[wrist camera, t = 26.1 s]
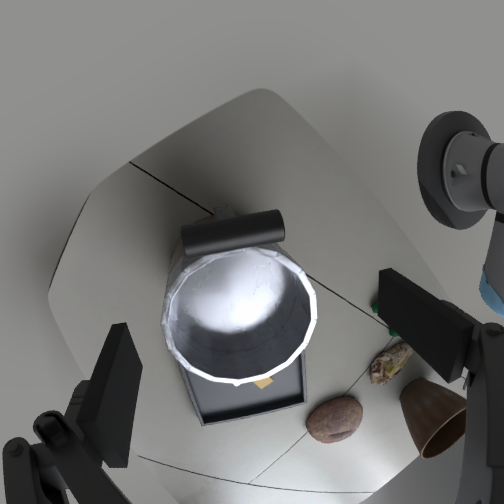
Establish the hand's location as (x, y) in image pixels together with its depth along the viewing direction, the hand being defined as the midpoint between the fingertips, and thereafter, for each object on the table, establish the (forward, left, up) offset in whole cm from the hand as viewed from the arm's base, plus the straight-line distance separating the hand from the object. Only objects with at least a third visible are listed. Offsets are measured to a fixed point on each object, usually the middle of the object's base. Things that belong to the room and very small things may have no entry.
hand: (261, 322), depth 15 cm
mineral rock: (-43, +4, -27) cm, 51 cm away
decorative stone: (-42, +20, -27) cm, 54 cm away
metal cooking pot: (-3, +4, -17) cm, 18 cm away
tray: (-18, +19, -27) cm, 38 cm away
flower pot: (-58, +7, -27) cm, 64 cm away
